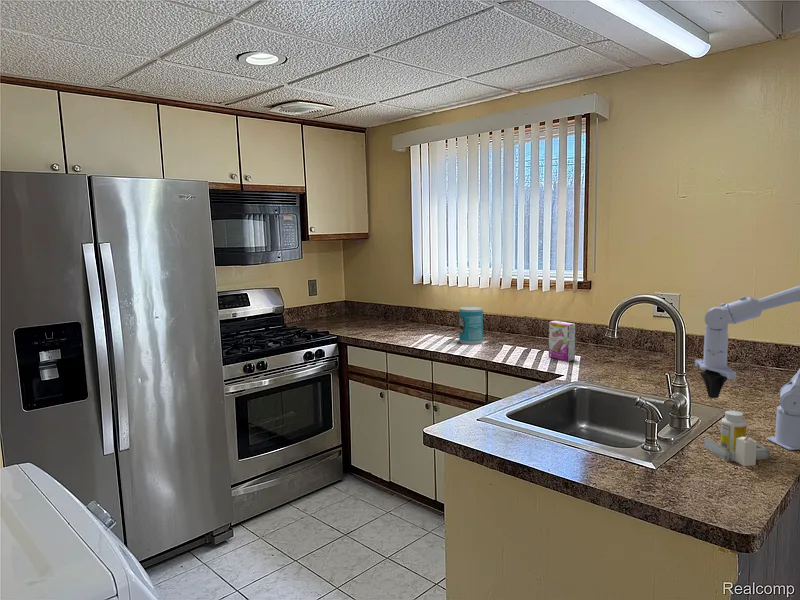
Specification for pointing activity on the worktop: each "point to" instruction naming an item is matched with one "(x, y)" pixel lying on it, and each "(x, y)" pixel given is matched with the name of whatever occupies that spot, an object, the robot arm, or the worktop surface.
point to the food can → (471, 325)
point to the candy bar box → (562, 340)
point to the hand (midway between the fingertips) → (713, 397)
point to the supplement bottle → (732, 429)
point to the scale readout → (745, 451)
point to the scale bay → (733, 451)
